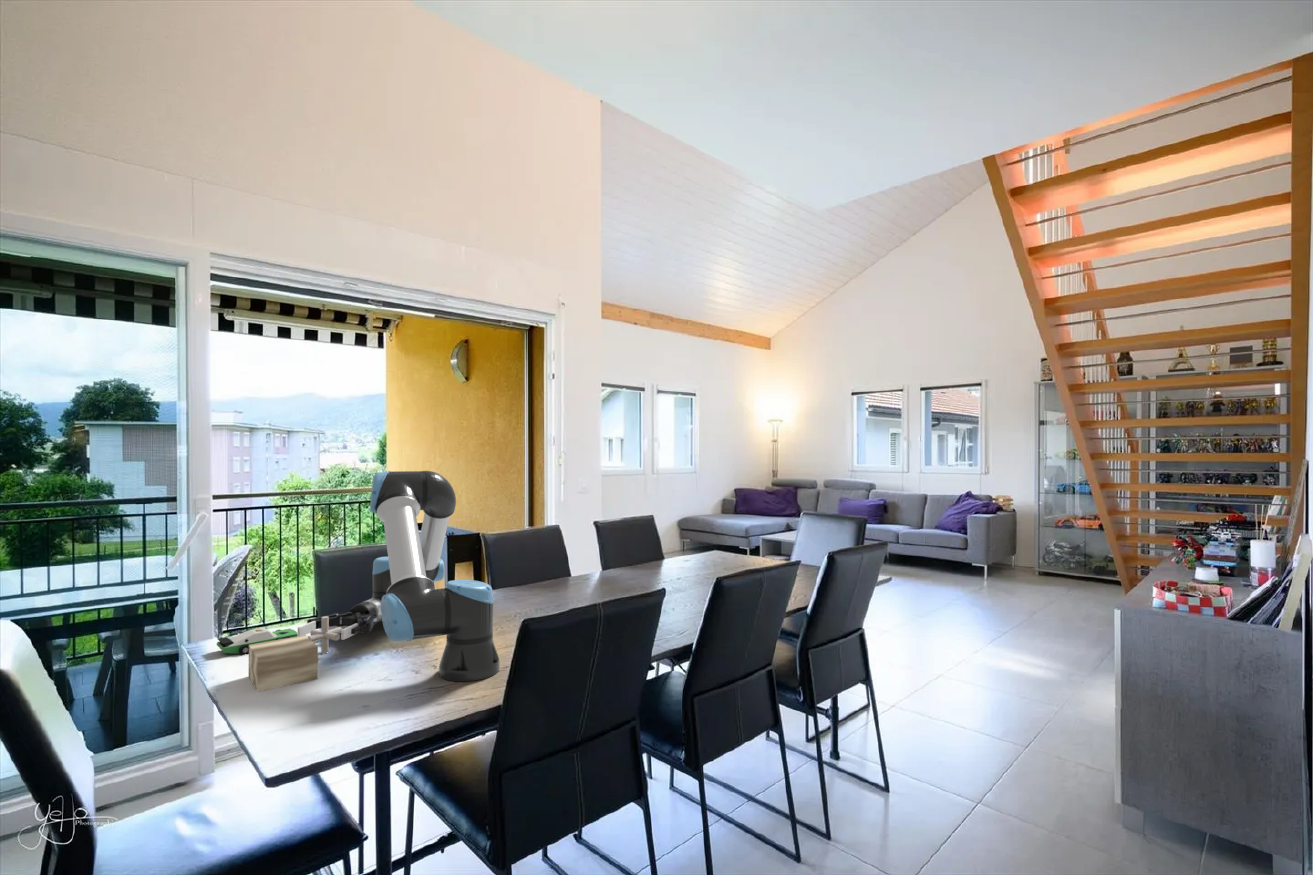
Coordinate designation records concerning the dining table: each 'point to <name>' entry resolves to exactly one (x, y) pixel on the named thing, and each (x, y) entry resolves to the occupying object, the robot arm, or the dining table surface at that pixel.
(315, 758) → the dining table surface
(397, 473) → the robot arm
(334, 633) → the pipe connector
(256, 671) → the birch block
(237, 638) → the toy car
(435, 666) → the dining table surface
